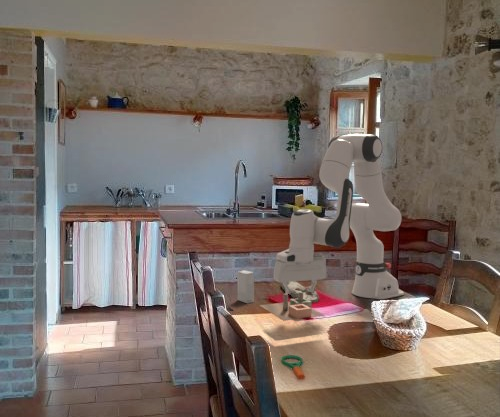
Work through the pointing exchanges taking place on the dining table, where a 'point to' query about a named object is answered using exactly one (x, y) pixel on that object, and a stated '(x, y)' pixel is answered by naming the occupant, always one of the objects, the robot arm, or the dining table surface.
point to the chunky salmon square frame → (300, 311)
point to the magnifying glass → (294, 365)
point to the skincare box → (245, 286)
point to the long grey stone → (297, 288)
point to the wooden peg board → (283, 308)
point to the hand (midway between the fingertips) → (299, 292)
